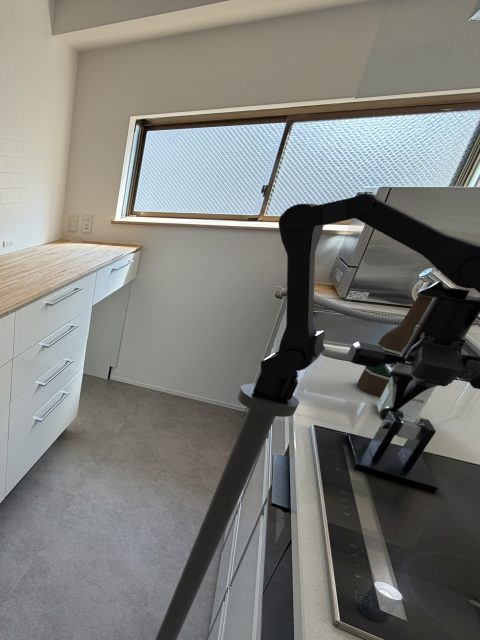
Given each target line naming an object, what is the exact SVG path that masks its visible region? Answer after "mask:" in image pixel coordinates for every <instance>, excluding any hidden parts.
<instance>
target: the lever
mask: <svg viewBox="0 0 480 640" xmlns="http://www.w3.org/2000/svg"><path fill="white" fill-rule="evenodd" d="M389 411H393V412H397V414H398V416H399V418H400V420H401V421H402V425H401V426H400V428H399V430H398V431H397V433H396V435H395V436H396V437H398V438H402V439H405V440H407V439H409V440H413V441H414V440H415V438H416V437H417V435H418V433H419V431H420V429H421V427H420V426H418V425H417V423H416V422H410V421H406V420H403V417H404V414H403V412H402V410H401V409H397V408H393V406H389V407H385V408H383V409H382V410H381V411H380V412H378V417H379V418H380V420H381V422H382V421H383V420H384V419H385V417H386V416H387V414H388V412H389Z"/></svg>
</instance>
